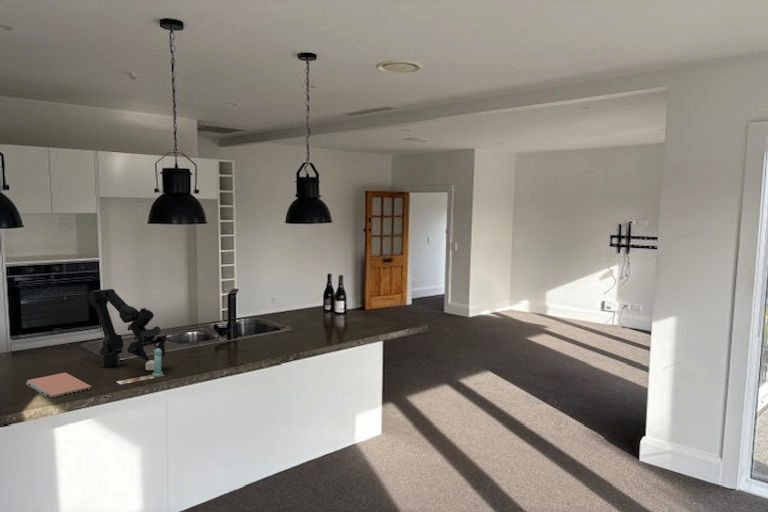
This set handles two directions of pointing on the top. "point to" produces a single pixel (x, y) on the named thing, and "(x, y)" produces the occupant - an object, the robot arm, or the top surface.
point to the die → (150, 365)
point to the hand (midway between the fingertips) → (156, 358)
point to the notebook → (57, 385)
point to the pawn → (157, 363)
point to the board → (137, 379)
